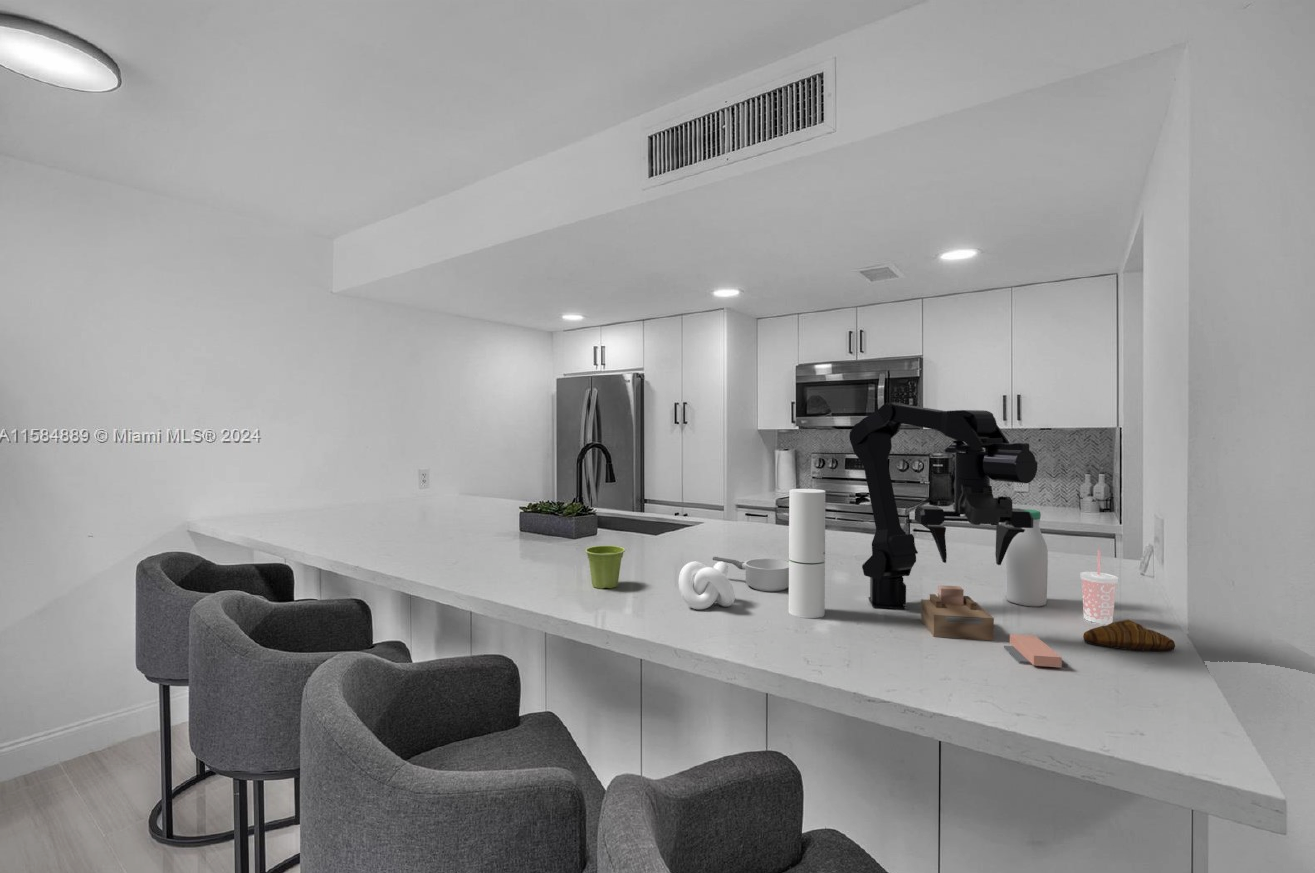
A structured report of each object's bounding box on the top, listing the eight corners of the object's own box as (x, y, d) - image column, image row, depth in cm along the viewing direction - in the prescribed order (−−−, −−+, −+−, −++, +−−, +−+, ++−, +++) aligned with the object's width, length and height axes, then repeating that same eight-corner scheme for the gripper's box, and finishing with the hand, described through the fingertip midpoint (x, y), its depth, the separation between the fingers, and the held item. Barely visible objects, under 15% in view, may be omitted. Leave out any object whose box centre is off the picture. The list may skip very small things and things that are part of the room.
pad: (1019, 663, 99) (1019, 660, 99) (1003, 647, 106) (1003, 645, 106) (1067, 666, 98) (1067, 664, 98) (1048, 650, 104) (1048, 648, 104)
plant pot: (632, 584, 147) (632, 548, 147) (608, 593, 139) (608, 555, 139) (601, 578, 152) (601, 544, 152) (577, 587, 144) (577, 550, 144)
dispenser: (934, 637, 111) (934, 598, 111) (921, 619, 121) (921, 584, 121) (994, 641, 109) (994, 602, 109) (975, 622, 119) (976, 586, 119)
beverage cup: (1084, 623, 119) (1085, 551, 118) (1075, 614, 124) (1076, 545, 124) (1122, 627, 116) (1123, 554, 116) (1111, 617, 122) (1112, 547, 122)
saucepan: (722, 574, 157) (722, 552, 157) (799, 584, 147) (799, 561, 147) (703, 584, 147) (703, 561, 147) (784, 596, 137) (784, 571, 137)
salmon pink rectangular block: (1033, 665, 97) (1033, 655, 97) (1009, 643, 107) (1009, 634, 107) (1061, 667, 96) (1061, 657, 96) (1034, 644, 106) (1034, 635, 106)
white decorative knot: (686, 616, 123) (686, 571, 123) (672, 599, 135) (672, 558, 135) (739, 612, 125) (739, 569, 125) (721, 596, 137) (721, 556, 137)
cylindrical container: (827, 610, 127) (828, 489, 126) (821, 620, 120) (822, 493, 120) (792, 605, 130) (793, 488, 129) (785, 615, 123) (785, 491, 123)
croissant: (1091, 651, 105) (1092, 622, 105) (1076, 638, 112) (1076, 610, 111) (1185, 659, 101) (1186, 629, 101) (1163, 645, 108) (1164, 616, 108)
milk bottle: (1051, 609, 128) (1054, 513, 127) (1010, 605, 130) (1012, 512, 129) (1040, 598, 135) (1042, 508, 135) (1001, 595, 138) (1003, 506, 137)
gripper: (928, 481, 106) (927, 571, 106) (1047, 484, 102) (1046, 576, 103) (914, 476, 117) (913, 557, 117) (1021, 478, 113) (1020, 562, 114)
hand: (971, 563), depth 112 cm, fingers open, 9 cm apart
